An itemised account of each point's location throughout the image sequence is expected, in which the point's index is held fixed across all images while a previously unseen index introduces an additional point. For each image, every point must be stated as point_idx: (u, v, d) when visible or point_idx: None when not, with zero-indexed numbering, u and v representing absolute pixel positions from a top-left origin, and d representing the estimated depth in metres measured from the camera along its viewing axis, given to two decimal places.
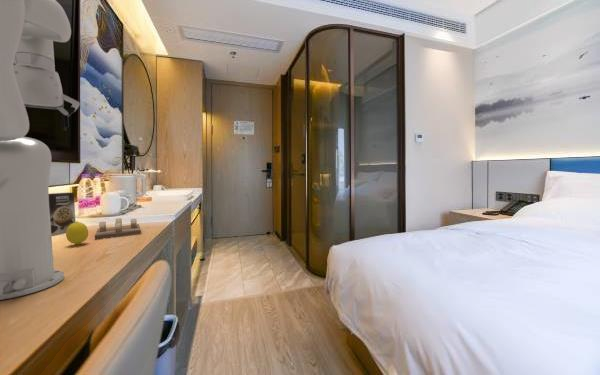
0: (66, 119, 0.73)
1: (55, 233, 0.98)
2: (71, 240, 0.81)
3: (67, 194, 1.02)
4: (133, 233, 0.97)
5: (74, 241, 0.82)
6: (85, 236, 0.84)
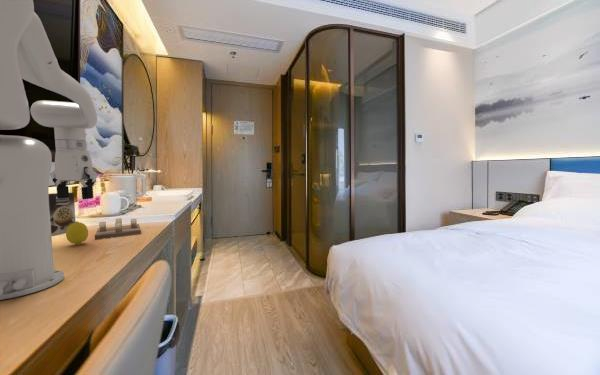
0: None
1: (55, 233, 0.98)
2: (71, 240, 0.81)
3: None
4: (133, 233, 0.97)
5: (74, 241, 0.82)
6: (85, 236, 0.84)
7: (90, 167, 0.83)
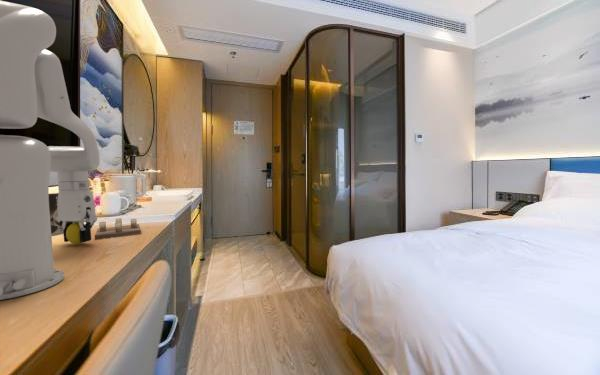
0: None
1: (55, 233, 0.98)
2: (71, 240, 0.81)
3: None
4: (133, 233, 0.97)
5: (74, 241, 0.82)
6: None
7: (92, 207, 0.84)
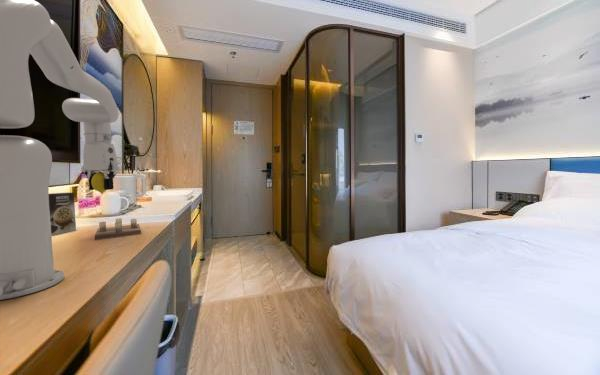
0: None
1: (55, 233, 0.98)
2: (96, 187, 0.90)
3: (67, 194, 1.02)
4: (133, 233, 0.97)
5: (99, 188, 0.91)
6: None
7: (115, 158, 0.93)
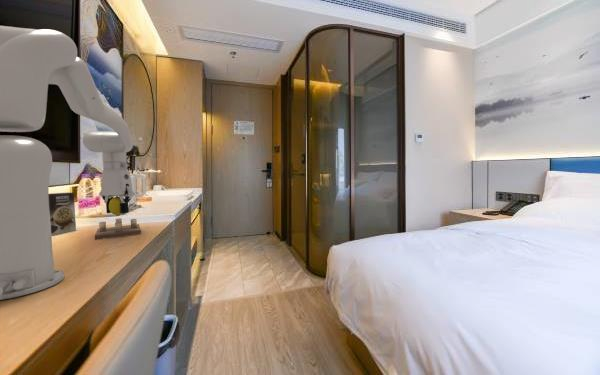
0: None
1: (55, 233, 0.98)
2: (113, 211, 0.97)
3: (67, 194, 1.02)
4: (133, 233, 0.97)
5: (115, 212, 0.97)
6: None
7: (130, 184, 0.99)
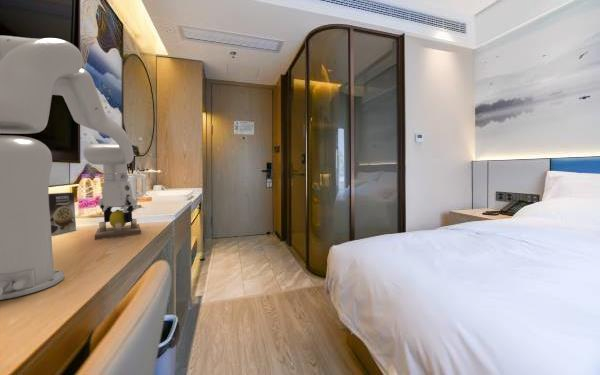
0: None
1: (55, 233, 0.98)
2: (114, 225, 0.97)
3: (67, 194, 1.02)
4: (133, 233, 0.97)
5: None
6: None
7: (131, 195, 1.00)
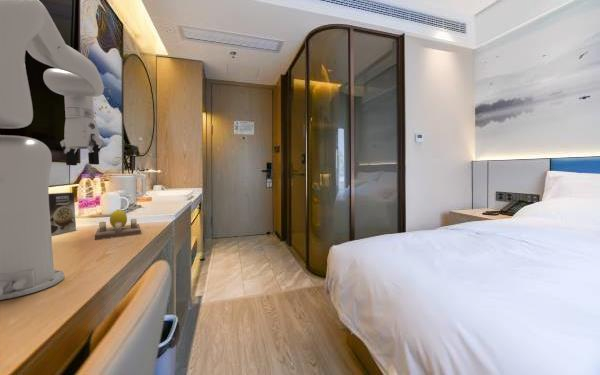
0: None
1: (55, 233, 0.98)
2: (114, 225, 0.97)
3: (67, 194, 1.02)
4: (133, 233, 0.97)
5: None
6: (125, 222, 1.00)
7: (97, 135, 0.89)
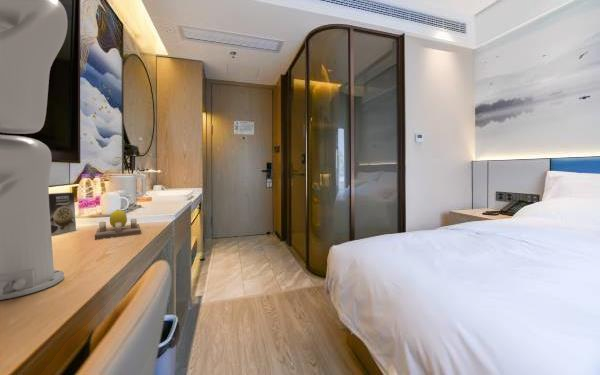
0: None
1: (55, 233, 0.98)
2: (114, 225, 0.97)
3: (67, 194, 1.02)
4: (133, 233, 0.97)
5: None
6: (125, 222, 1.00)
7: None
